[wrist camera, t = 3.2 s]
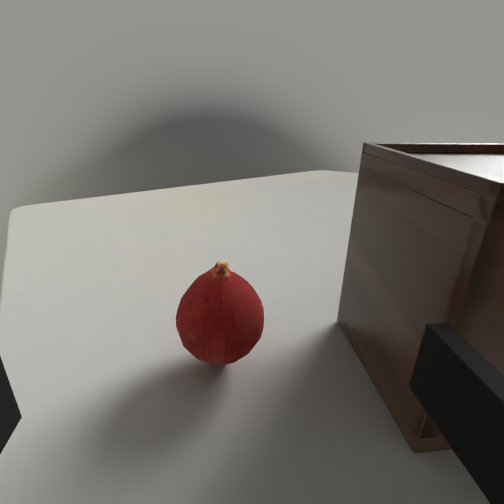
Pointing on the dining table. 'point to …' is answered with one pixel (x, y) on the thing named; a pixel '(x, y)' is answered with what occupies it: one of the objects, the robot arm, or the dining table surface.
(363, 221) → the box
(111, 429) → the dining table surface
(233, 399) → the dining table surface
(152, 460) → the dining table surface
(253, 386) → the dining table surface
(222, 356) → the onion
